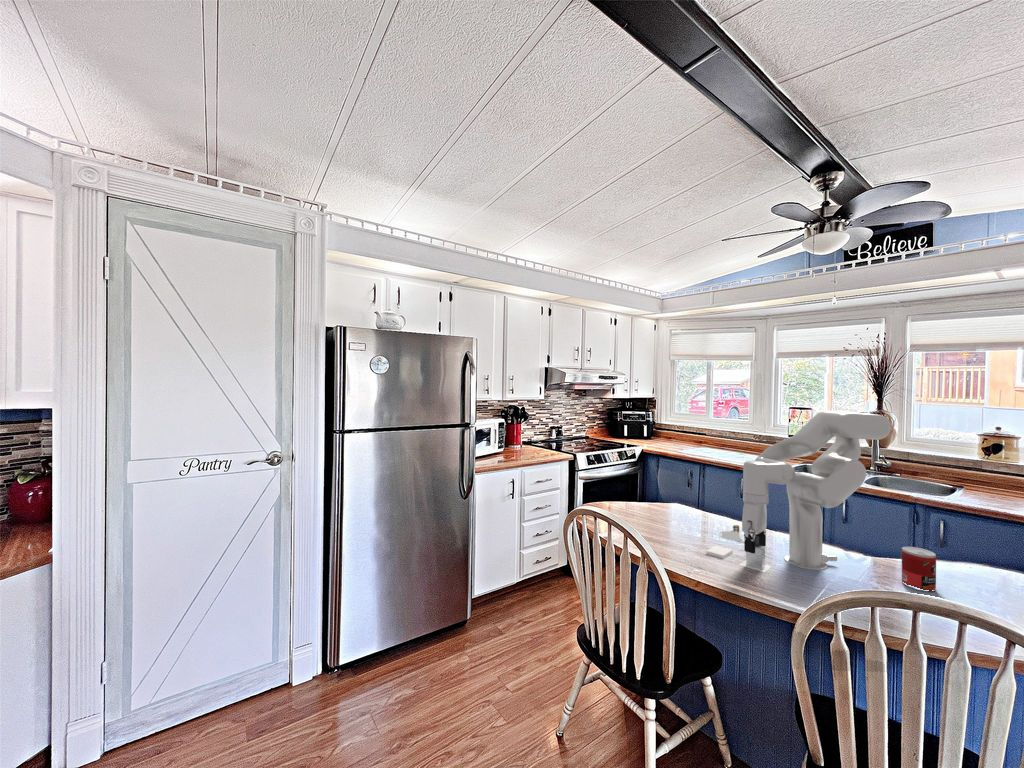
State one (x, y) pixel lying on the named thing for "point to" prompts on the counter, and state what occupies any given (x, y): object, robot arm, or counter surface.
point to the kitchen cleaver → (732, 534)
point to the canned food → (919, 568)
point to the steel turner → (756, 556)
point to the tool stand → (755, 567)
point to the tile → (719, 552)
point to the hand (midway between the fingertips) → (755, 548)
